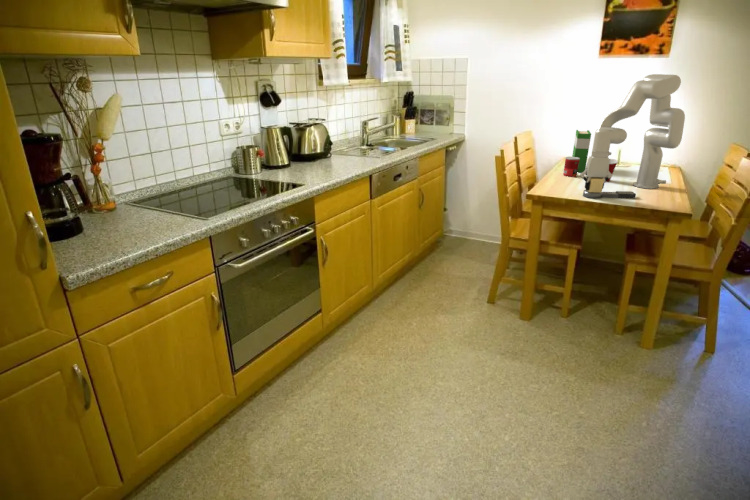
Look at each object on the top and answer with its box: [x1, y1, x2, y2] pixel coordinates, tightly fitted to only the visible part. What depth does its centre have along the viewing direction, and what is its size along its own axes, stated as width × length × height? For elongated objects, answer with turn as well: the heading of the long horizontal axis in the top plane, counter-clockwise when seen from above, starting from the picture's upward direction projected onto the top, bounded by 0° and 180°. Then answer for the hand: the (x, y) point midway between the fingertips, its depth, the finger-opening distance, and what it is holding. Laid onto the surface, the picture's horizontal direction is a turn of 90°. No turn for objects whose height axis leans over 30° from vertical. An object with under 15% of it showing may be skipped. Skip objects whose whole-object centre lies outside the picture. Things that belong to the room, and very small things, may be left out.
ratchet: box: [582, 189, 637, 200], centre depth 231 cm, size 24×9×6 cm, turn 83°
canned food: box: [562, 156, 580, 178], centre depth 275 cm, size 8×8×11 cm
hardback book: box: [571, 129, 592, 174], centre depth 288 cm, size 18×7×24 cm, turn 161°
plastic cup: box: [605, 158, 619, 183], centre depth 262 cm, size 11×11×12 cm
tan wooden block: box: [587, 177, 604, 193], centre depth 231 cm, size 6×6×7 cm
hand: (593, 189), depth 232 cm, fingers closed on tan wooden block, 6 cm apart
